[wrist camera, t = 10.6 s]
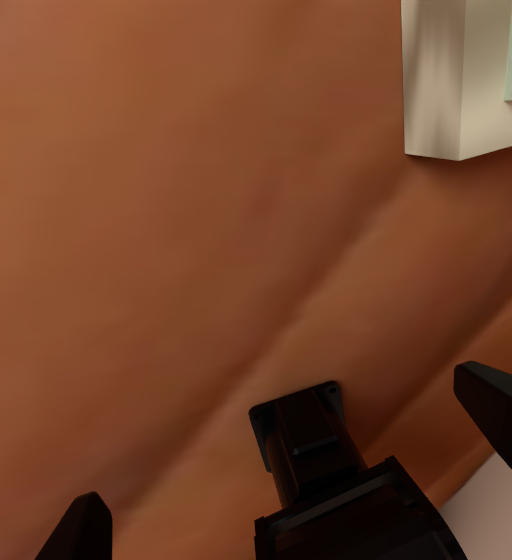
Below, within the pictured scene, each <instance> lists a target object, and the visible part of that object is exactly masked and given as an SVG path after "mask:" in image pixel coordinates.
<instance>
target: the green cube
mask: <svg viewBox="0 0 512 560" xmlns="http://www.w3.org/2000/svg"><path fill="white" fill-rule="evenodd" d="M506 100H512V12H511V23H510V34H509V45H508V57H507V68H506V79H505V90H504V101H506Z"/></svg>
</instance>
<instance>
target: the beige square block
mask: <svg viewBox="0 0 512 560" xmlns="http://www.w3.org/2000/svg"><path fill="white" fill-rule="evenodd" d="M511 12H512V0H401V16H402V55H403V94H404V133H405V154H411V155H419V156H426V157H434V158H442V159H449V160H457V161H460V160H464V159H467V158H471V157H475V156H478V155H482V154H485V153H489V152H492V151H496V150H499V149H503V148H506V147H510V146H512V100H506V101H504V90H505V79H506V68H507V57H508V45H509V34H510V23H511Z"/></svg>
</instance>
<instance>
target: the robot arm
mask: <svg viewBox="0 0 512 560" xmlns="http://www.w3.org/2000/svg"><path fill="white" fill-rule="evenodd" d="M331 388H332V389H331ZM453 389H454V393H455V396H456V397H457V399H458V400H459V402H460V403H461V404H462V406H463V407H464V409H465V410H466V411H467V413H468V414H469V415H470V417H471V418H472V419H473V421H474V422H475V423H476V425H477V426H478V428H479V429H480V430H481V432H482V433H483V434H484V436H485V437H486V438H487V440H488V441H489V442H490V444H491V445H492V446H493V448H494V449H495V450H496V452H497V453H498V454H499V455H500V456H501V458H502V459H503V460H504V461H505V462H506V463H507V465H508V466H509V467H510V468H511V469H512V375H511V374H509V373H506V372H503V371H500V370H498V369H495V368H492V367H489V366H486V365H484V364H481V363H478V362H475V361H467V362H464V363H461V364H458V365H456V367H455V369H454V385H453ZM255 414H257V415H255ZM249 418H250V421H251V424H252V427H253V430H254V433H255V436H256V439H257V443H258V446H259V449H260V452H261V455H262V458H263V461H264V464H265V467H266V470H267V472H270V473H272V474H273V478H274V481H275V485H276V488H277V492H278V496H279V499H280V503H281V506H282V510H280V511H278V512H275V513H273V514H271V515H269V516H267V517H265V518H264V516H263V517H260V518H258V519H256V520H254V522H255V533H256V536H254V542H255V553H256V560H468V559H467V557H466V556H465V554H464V552H463V550H462V548H461V547H460V545H459V543H458V541H457V540H456V538H455V536H454V535H453V533H452V532H451V530H450V529H449V527H448V525H447V524H446V523H445V521H444V519H443V518H442V517H441V515H440V514H439V513H438V511H437V510H436V508H435V507H434V506H433V505H432V503H431V502H430V501H429V500H428V498H427V497H426V496H425V495H424V493H423V492H422V491H421V489H420V488H419V487H418V486H417V484H416V483H415V482H414V481H413V479H412V478H411V477H410V476H409V474H408V473H407V472H406V471H405V469H404V468H403V467H402V466H401V464H400V463H399V462H398V460H397V459H396V458H395V457H394V456H393V455H392V456H390V457H388V458H386V459H385V461H384V462H382V463H379V464H377V465H375V466H373V467H371V468H368V466H367V464H366V463H365V461H364V459H363V457H362V456H361V454H360V452H359V450H358V449H357V447H356V445H355V443H354V441H353V440H352V438H351V436H350V434H349V433H348V431H347V429H346V427H345V420H344V413H343V407H342V400H341V393H340V388H339V386H338V384H337V382H335V381H329V382H326V383H323V384H320V385H317V386H314V387H311V388H308V389H305V390H302V391H299V392H296V393H293V394H291V395H288V396H285V397H282V398H279V399H276V400H273V401H270V402H267V403H264V404H261V405H258V406H255V407H253V408H251V409H250V410H249ZM34 560H112V515H111V512H110V510H109V508H108V507H107V506H106V504H105V503H104V501H103V500H102V498H101V497H100V496H99V494H98V493H97V492H95V491H92V492H89V493H86V494H83V495H80V496H78V497H77V498H75V500H74V501H73V502H72V503H71V505H70V506H69V508H68V509H67V511H66V512H65V514H64V515H63V517H62V518H61V520H60V522H59V523H58V525H57V526H56V528H55V529H54V531H53V532H52V534H51V535H50V537H49V538H48V540H47V541H46V543H45V544H44V546H43V547H42V549H41V550H40V552H39V553H38V555H37V556H36V558H35V559H34Z"/></svg>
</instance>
